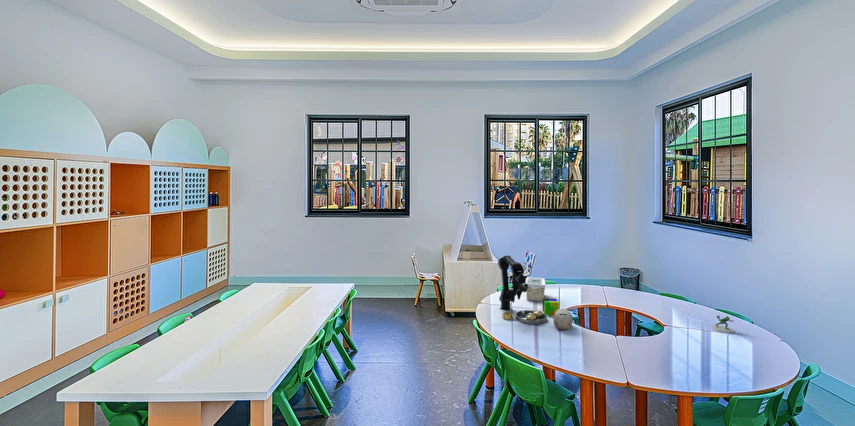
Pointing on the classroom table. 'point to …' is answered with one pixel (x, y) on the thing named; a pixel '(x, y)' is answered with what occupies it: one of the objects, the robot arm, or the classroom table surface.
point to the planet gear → (507, 315)
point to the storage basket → (535, 289)
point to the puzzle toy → (550, 306)
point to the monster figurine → (723, 328)
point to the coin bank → (563, 319)
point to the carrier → (530, 317)
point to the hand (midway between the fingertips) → (516, 301)
